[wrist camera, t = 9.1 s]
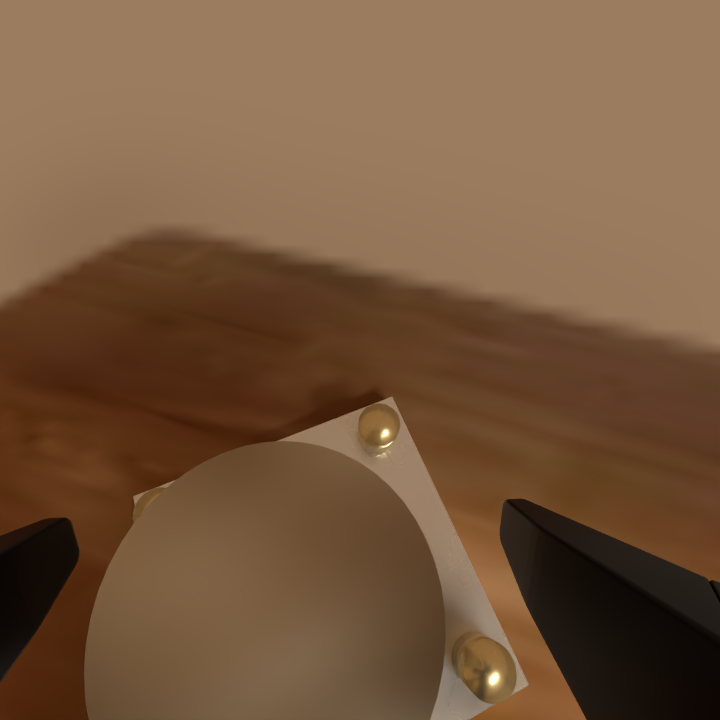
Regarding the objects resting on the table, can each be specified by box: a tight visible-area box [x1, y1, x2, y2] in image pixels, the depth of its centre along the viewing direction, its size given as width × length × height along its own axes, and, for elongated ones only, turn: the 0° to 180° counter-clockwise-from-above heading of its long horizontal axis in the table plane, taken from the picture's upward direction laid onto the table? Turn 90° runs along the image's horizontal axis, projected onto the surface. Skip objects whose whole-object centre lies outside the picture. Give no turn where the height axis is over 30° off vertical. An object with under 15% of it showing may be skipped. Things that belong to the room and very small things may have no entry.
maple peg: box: [84, 441, 446, 720], centre depth 10 cm, size 5×5×10 cm
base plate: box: [133, 397, 529, 720], centre depth 14 cm, size 11×11×2 cm
